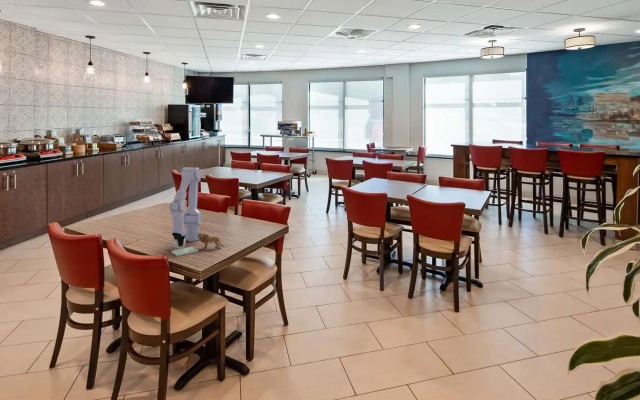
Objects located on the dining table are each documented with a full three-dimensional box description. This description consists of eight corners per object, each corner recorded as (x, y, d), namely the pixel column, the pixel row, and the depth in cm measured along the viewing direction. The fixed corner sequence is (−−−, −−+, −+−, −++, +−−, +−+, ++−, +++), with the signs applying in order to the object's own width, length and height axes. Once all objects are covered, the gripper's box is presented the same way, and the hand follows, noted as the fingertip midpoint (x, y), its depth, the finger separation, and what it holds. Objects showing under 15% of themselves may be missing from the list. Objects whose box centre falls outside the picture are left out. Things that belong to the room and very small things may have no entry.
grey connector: (168, 249, 226) (167, 240, 225) (184, 245, 232) (184, 237, 231) (170, 250, 224) (169, 241, 223) (186, 247, 230) (186, 238, 229)
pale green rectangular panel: (170, 252, 220) (170, 250, 220) (191, 248, 228) (191, 246, 228) (177, 256, 214) (177, 254, 214) (198, 251, 221) (198, 250, 221)
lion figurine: (196, 248, 227) (196, 233, 225) (199, 246, 232) (198, 231, 230) (222, 248, 227) (222, 233, 225) (224, 246, 232) (224, 231, 231)
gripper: (166, 221, 229) (167, 243, 231) (176, 226, 218) (177, 249, 220) (178, 219, 233) (179, 241, 236) (188, 223, 222) (189, 247, 225)
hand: (179, 245), depth 228 cm, fingers closed on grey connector, 3 cm apart
